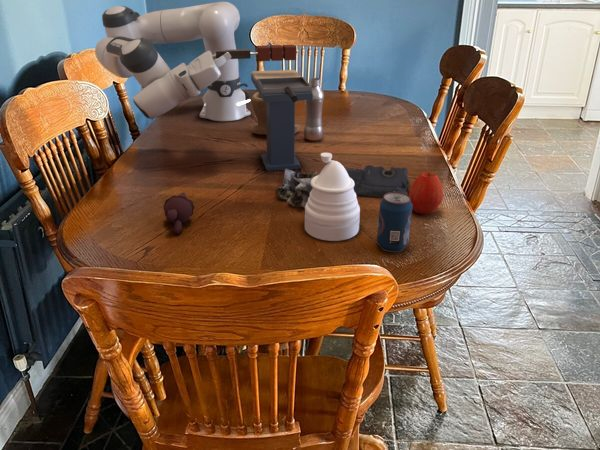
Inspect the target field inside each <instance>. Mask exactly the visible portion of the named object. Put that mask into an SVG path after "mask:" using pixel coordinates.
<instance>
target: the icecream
mask: <svg viewBox="0 0 600 450" xmlns="http://www.w3.org/2000/svg"><path fill="white" fill-rule="evenodd" d="M162 208H163V212H164V217H165V218H166V221H167V222H169V223H172V224H173V232H174V234H175V235H179V234H180V233H181V232H182V230H183V224H185V223H187V221H188V220H189V219H190V218H191V217H192V216H193V215H194V210H195V205H194V201H193V200H192V199H189V198H188V197H187V195H186V193H185V192H181V193H180V194H178V195H172V196H171V197H169V198H167V199H166V200H165V201H164V204H163V207H162Z"/></svg>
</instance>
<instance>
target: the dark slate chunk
mask: <svg viewBox="0 0 600 450" xmlns="http://www.w3.org/2000/svg"><path fill="white" fill-rule="evenodd" d="M345 170H346V171H347V173H348V175H349V177H350V178H351V179H352V180H353V181H354V183H355V185H354V188H353V189H354V192H355V193H356V196H357V197H358V196H359V197H370V198H383V196H384V194H386V193H389V192H401V193H405V194H407V195H409V193H408V191H407V189H408V186H409V184H410V180H409V177H408V172H409V171H408V168H406V167H394V166H391V167H390V170H386V169H385V167H383V166H382V165H381V166H374V165H370V164H368V165H366V166H365V167H364V168H345Z"/></svg>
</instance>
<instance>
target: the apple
mask: <svg viewBox="0 0 600 450" xmlns="http://www.w3.org/2000/svg"><path fill="white" fill-rule="evenodd" d="M408 195H409V196H410V198H411V199H410V201H411V203H412V211H413V212H415V213H417V214H419V215H424V216H425V215H430V214H432V213H434V212H435V211H436V210H437V208H438V207H439V206H440V205H441V204H442V202H443V199H444V190H443V185H442V183H441V179H440V178H439V177H438V176H437V174H435V173H433V172H431V171H423V172H421V173H420V174H418V175H417V176H416V178H415V179H414V181H413V182H412V184H411V187H410V189H409V193H408Z"/></svg>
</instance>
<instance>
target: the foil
mask: <svg viewBox="0 0 600 450" xmlns="http://www.w3.org/2000/svg"><path fill="white" fill-rule="evenodd" d="M315 174H316V176H317V175H319V174H318V172H317V170H313V171H312V172H311V173H309V174H305V173H301V172H299V171H294V170H293V169H285V170H284V174H283V181H282V186H279V187H277V188H276V189H275V192H276V195H277V197H278V199H279V200H286V202H287V203H288V204H290V205H292V206H293V207H294V208H296V207H302V208H305V205H306V203H307V202H308V198H309V196H310V192H311V191H312V189H313V187H312V186H311V180H312V178H314V177H315Z"/></svg>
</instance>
